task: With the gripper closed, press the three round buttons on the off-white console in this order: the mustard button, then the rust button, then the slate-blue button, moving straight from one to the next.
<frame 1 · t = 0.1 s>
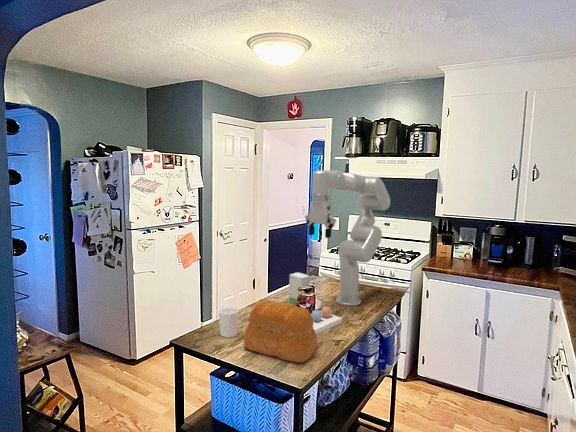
hand: (319, 236, 176), 37 cm above the kitchen island, tool pointing down, fingers open, 9 cm apart
console: (316, 328, 164), on the kitchen island
white cup: (228, 334, 157), on the kitchen island
rust button: (326, 312, 168), point 5 cm above the kitchen island, slide at 0.0 cm
skincare box: (298, 305, 191), on the kitchen island
slate button: (316, 316, 163), point 5 cm above the kitchen island, slide at 0.0 cm
mustard button: (306, 320, 159), point 5 cm above the kitchen island, slide at 0.0 cm
bread: (280, 349, 145), on the kitchen island
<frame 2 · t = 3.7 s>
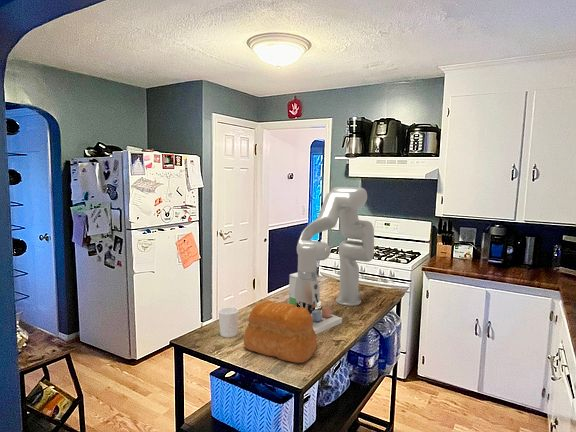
hand: (306, 318, 158), 6 cm above the kitchen island, tool pointing down, fingers closed
mustard button: (306, 323, 159), point 4 cm above the kitchen island, slide at -1.1 cm, touching gripper
everything else where it was.
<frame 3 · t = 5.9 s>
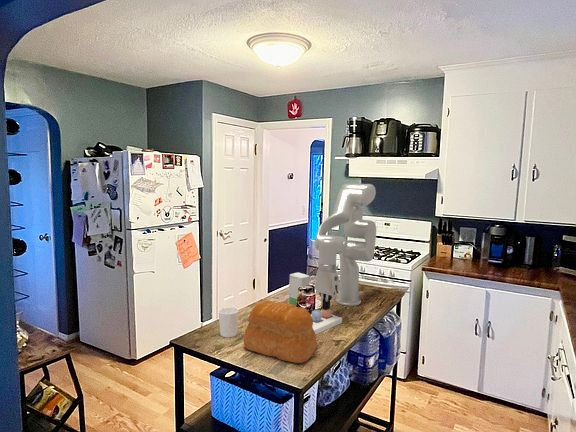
hand: (326, 308, 167), 7 cm above the kitchen island, tool pointing down, fingers closed
rust button: (326, 313, 168), point 5 cm above the kitchen island, slide at -0.3 cm, touching gripper
mustard button: (306, 323, 159), point 4 cm above the kitchen island, slide at -1.4 cm
everything else where it was.
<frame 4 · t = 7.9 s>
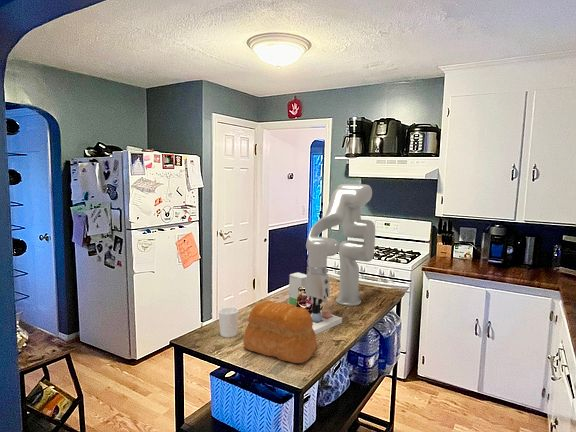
hand: (316, 312, 163), 7 cm above the kitchen island, tool pointing down, fingers closed
rust button: (326, 315, 168), point 4 cm above the kitchen island, slide at -1.4 cm
slate button: (316, 317, 163), point 5 cm above the kitchen island, slide at -0.3 cm, touching gripper
everything else where it was.
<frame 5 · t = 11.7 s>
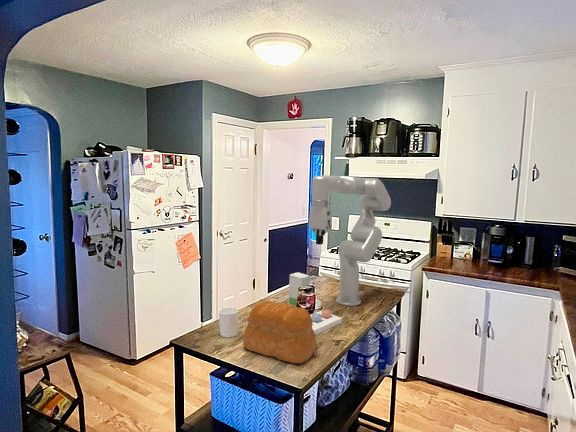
hand: (319, 244, 176), 33 cm above the kitchen island, tool pointing down, fingers closed
slate button: (316, 319, 164), point 4 cm above the kitchen island, slide at -1.4 cm
everything else where it was.
at the end: mustard button slide at -1.4 cm; rust button slide at -1.4 cm; slate button slide at -1.4 cm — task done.
